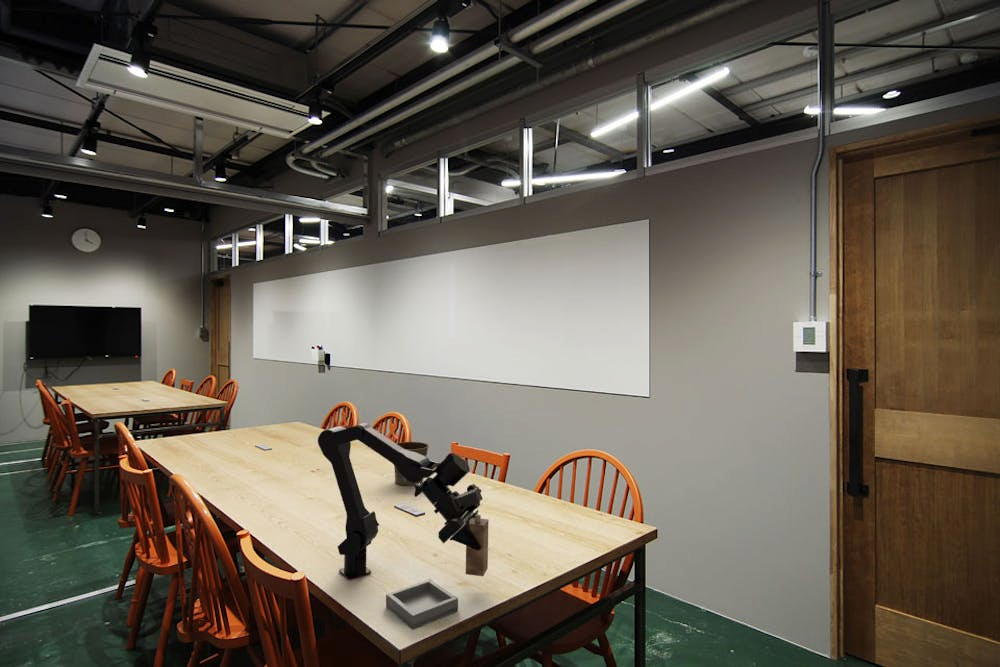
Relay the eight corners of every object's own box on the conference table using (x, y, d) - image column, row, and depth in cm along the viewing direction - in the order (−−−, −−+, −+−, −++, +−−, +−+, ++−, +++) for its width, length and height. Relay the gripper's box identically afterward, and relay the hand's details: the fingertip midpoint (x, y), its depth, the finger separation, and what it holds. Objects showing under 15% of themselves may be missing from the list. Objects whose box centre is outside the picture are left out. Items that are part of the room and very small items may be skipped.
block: (465, 574, 127) (466, 517, 127) (470, 566, 131) (471, 511, 131) (483, 576, 126) (484, 519, 126) (487, 568, 130) (488, 513, 130)
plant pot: (435, 482, 224) (436, 445, 224) (406, 489, 212) (407, 450, 212) (412, 475, 235) (413, 440, 235) (383, 482, 223) (383, 445, 223)
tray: (385, 607, 119) (386, 594, 119) (429, 591, 126) (429, 579, 126) (412, 629, 109) (412, 615, 110) (457, 611, 117) (458, 598, 117)
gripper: (452, 487, 121) (496, 539, 118) (473, 468, 139) (512, 512, 136) (420, 517, 122) (463, 569, 120) (445, 494, 140) (483, 539, 138)
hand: (482, 545), depth 128 cm, fingers closed on block, 4 cm apart
